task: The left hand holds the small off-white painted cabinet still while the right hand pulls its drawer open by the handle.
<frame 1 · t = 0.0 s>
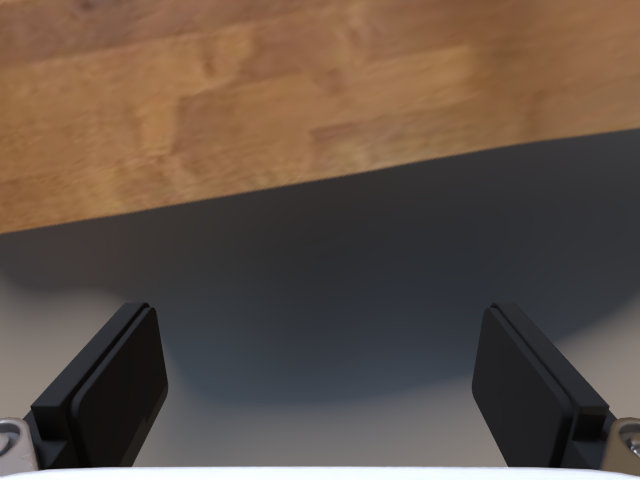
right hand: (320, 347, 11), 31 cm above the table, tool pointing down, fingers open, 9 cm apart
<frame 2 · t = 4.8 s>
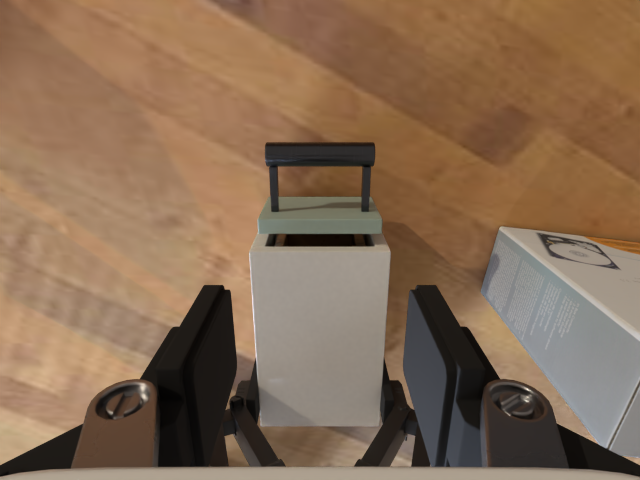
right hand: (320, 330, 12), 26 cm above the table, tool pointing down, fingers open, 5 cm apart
left hand: (320, 362, 39), fingers closed on cabinet, 11 cm apart
drawer: (320, 262, 35), point 4 cm above the table, slide at 1.0 cm
cabinet: (319, 294, 41), on the table, touching left hand
hard drive box: (561, 267, 40), on the table
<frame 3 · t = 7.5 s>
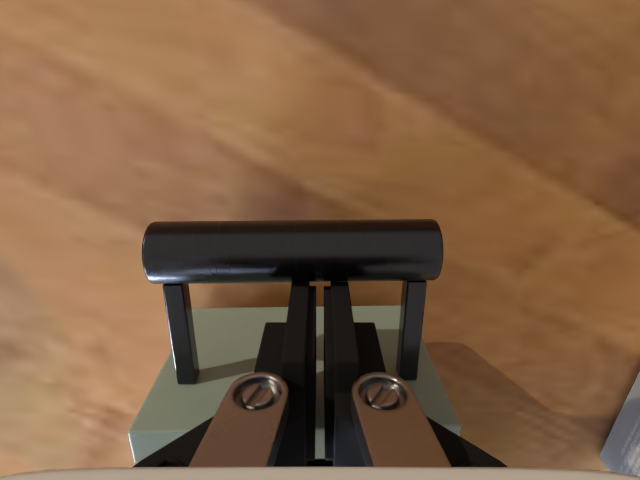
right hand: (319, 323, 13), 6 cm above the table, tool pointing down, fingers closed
drawer: (301, 458, 16), point 4 cm above the table, slide at 1.1 cm
when the left hand's fingers open (4 cm above the table, at t = 10.9 s): cabinet stays where it is, on the table.
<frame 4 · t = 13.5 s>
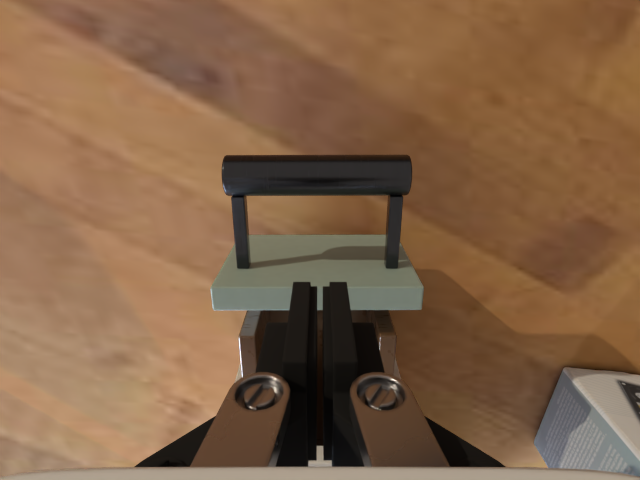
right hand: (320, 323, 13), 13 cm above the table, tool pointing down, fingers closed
drawer: (318, 339, 23), point 4 cm above the table, slide at 8.0 cm
cabinet: (318, 443, 31), on the table
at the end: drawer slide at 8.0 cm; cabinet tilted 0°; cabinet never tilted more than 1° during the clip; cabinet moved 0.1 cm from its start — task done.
